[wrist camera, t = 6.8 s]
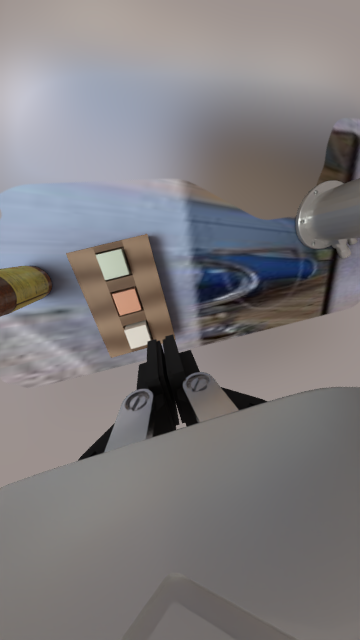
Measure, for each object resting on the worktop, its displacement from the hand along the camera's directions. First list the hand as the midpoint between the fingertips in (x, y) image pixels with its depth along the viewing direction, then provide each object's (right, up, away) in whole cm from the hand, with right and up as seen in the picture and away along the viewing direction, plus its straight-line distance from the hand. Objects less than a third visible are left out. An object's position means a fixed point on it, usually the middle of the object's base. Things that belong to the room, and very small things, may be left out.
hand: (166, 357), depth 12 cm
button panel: (-10, +7, +27) cm, 30 cm away
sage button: (-11, +13, +22) cm, 28 cm away
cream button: (-8, 0, +27) cm, 28 cm away
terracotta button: (-10, +7, +26) cm, 28 cm away
